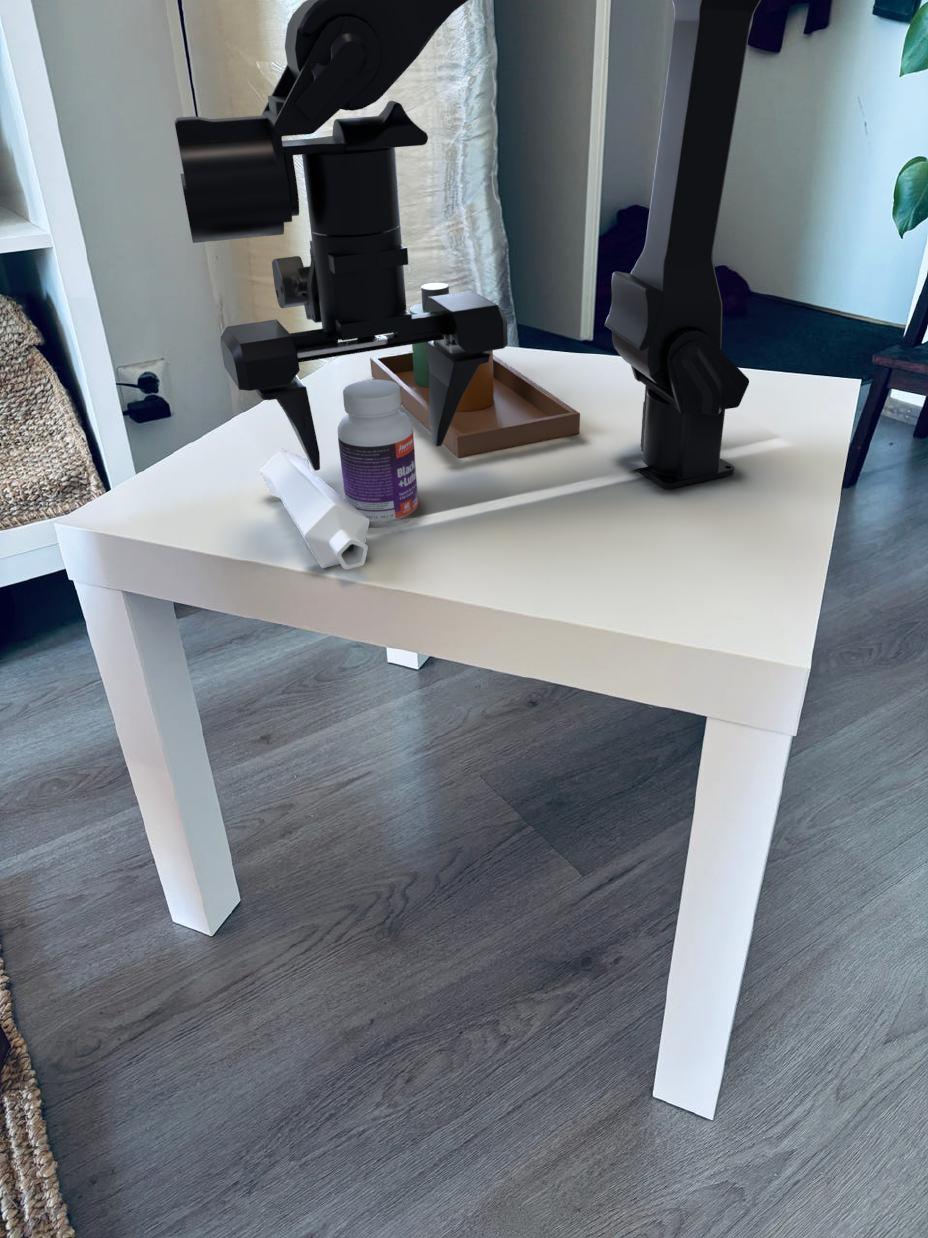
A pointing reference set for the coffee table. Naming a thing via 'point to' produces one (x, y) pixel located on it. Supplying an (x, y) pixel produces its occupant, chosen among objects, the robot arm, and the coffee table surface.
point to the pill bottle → (377, 452)
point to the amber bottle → (479, 389)
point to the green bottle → (419, 349)
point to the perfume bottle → (317, 511)
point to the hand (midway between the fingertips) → (377, 456)
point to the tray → (486, 409)
